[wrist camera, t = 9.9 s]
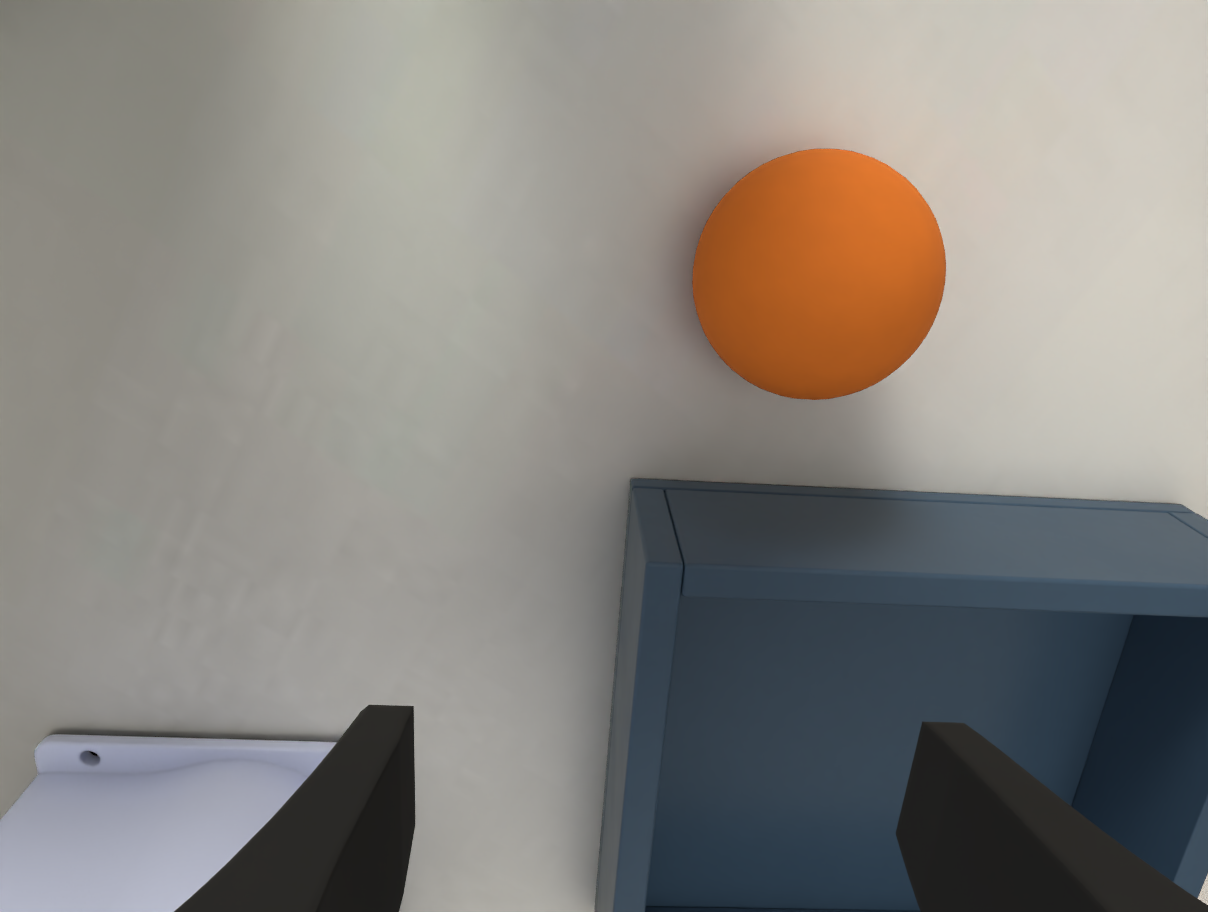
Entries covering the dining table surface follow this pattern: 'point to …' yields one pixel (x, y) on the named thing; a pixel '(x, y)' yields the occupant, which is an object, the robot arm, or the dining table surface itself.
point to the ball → (819, 274)
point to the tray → (889, 682)
